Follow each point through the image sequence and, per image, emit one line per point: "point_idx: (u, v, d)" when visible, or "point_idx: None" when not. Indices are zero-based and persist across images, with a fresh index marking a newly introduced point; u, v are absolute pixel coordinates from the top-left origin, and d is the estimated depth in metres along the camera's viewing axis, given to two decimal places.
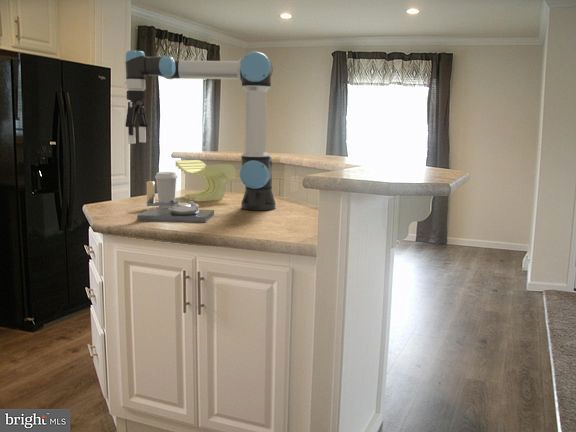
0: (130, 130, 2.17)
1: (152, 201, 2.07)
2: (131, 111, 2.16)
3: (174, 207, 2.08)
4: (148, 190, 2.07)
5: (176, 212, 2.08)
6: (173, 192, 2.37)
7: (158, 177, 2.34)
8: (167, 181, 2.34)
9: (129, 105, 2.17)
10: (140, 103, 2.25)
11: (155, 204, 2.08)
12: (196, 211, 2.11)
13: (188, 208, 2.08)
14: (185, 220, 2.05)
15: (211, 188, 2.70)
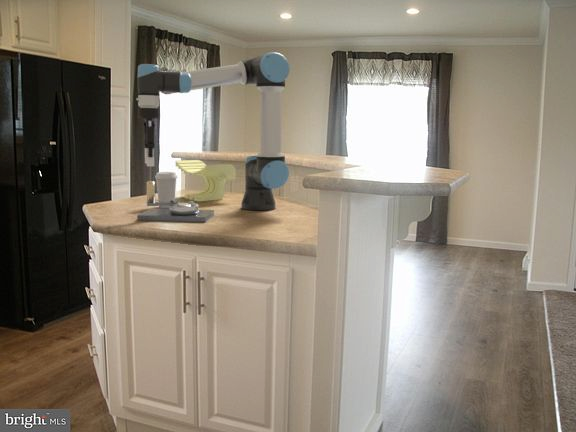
0: (150, 152, 1.98)
1: (152, 201, 2.07)
2: (150, 130, 1.97)
3: (174, 207, 2.08)
4: (148, 190, 2.07)
5: (176, 212, 2.08)
6: (173, 192, 2.37)
7: (158, 177, 2.34)
8: (167, 181, 2.34)
9: (148, 124, 1.97)
10: None
11: (155, 204, 2.08)
12: (196, 211, 2.11)
13: (188, 208, 2.08)
14: (185, 220, 2.05)
15: (211, 188, 2.70)
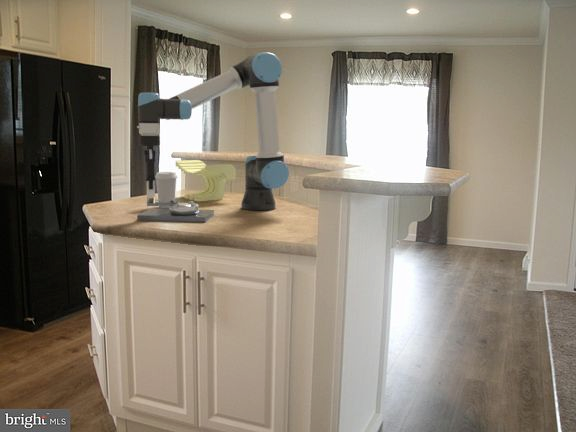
0: (151, 184, 2.04)
1: (152, 201, 2.07)
2: (151, 164, 2.01)
3: (174, 207, 2.08)
4: None
5: (176, 212, 2.08)
6: (173, 192, 2.37)
7: (158, 177, 2.34)
8: (167, 181, 2.34)
9: (149, 157, 2.00)
10: None
11: (155, 204, 2.08)
12: (196, 211, 2.11)
13: (188, 208, 2.08)
14: (185, 220, 2.05)
15: (211, 188, 2.70)
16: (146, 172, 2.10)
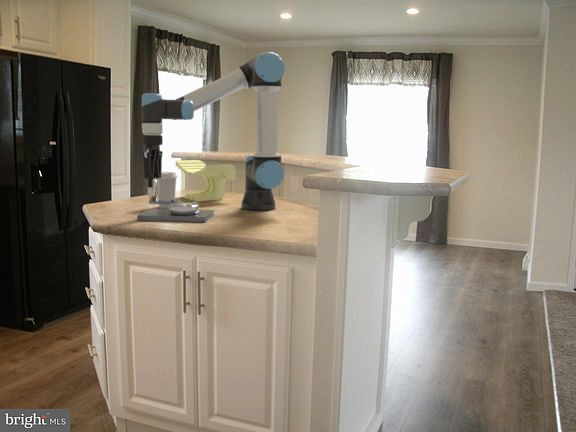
0: (149, 182, 2.10)
1: (153, 199, 2.13)
2: (147, 162, 2.06)
3: (170, 206, 2.10)
4: None
5: (171, 211, 2.09)
6: (173, 192, 2.37)
7: None
8: (167, 181, 2.34)
9: (144, 156, 2.06)
10: (157, 147, 2.13)
11: (156, 202, 2.13)
12: (191, 212, 2.09)
13: (182, 208, 2.07)
14: (185, 220, 2.05)
15: (211, 188, 2.70)
16: None
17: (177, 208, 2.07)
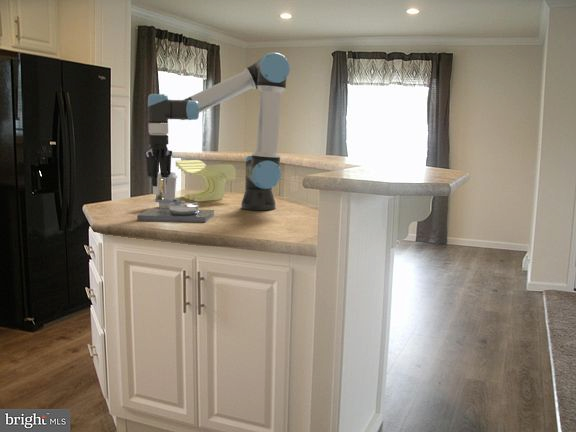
0: (153, 181, 2.14)
1: (158, 198, 2.17)
2: (149, 162, 2.11)
3: None
4: None
5: (170, 210, 2.11)
6: (173, 192, 2.37)
7: (158, 177, 2.34)
8: (167, 181, 2.34)
9: (146, 156, 2.11)
10: (164, 147, 2.16)
11: (160, 201, 2.17)
12: (187, 212, 2.08)
13: (177, 208, 2.08)
14: (185, 220, 2.05)
15: (211, 188, 2.70)
16: None
17: (173, 208, 2.08)
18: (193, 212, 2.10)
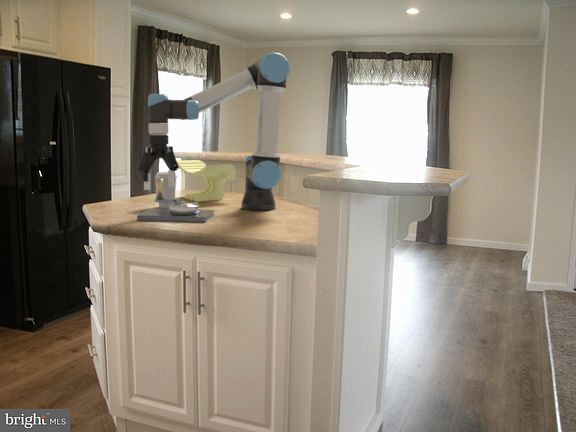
0: (144, 176, 2.10)
1: (158, 198, 2.17)
2: (145, 156, 2.09)
3: None
4: None
5: (170, 210, 2.11)
6: (173, 192, 2.37)
7: (158, 177, 2.34)
8: (167, 181, 2.34)
9: (145, 150, 2.10)
10: (164, 147, 2.16)
11: (160, 201, 2.17)
12: (187, 212, 2.08)
13: (177, 208, 2.08)
14: (185, 220, 2.05)
15: (211, 188, 2.70)
16: None
17: (173, 208, 2.08)
18: (193, 212, 2.10)
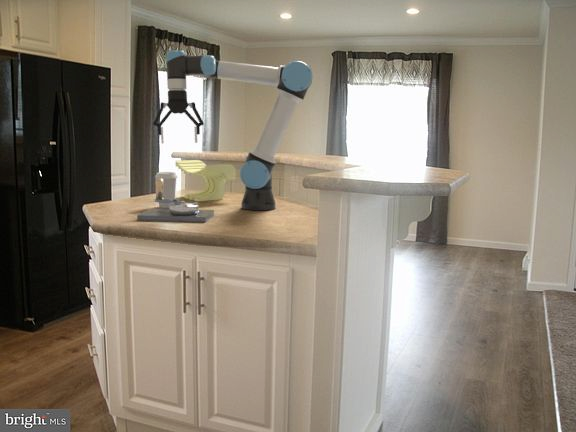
0: (158, 130, 2.22)
1: (158, 198, 2.17)
2: None
3: None
4: None
5: (170, 210, 2.11)
6: (173, 192, 2.37)
7: (158, 177, 2.34)
8: (167, 181, 2.34)
9: (160, 106, 2.22)
10: (182, 103, 2.22)
11: (160, 201, 2.17)
12: (187, 212, 2.08)
13: (177, 208, 2.08)
14: (185, 220, 2.05)
15: (211, 188, 2.70)
16: (199, 121, 2.27)
17: (173, 208, 2.08)
18: (193, 212, 2.10)
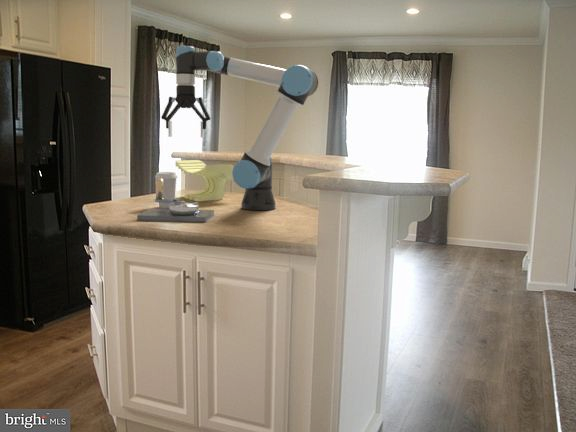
0: None
1: (158, 198, 2.17)
2: None
3: None
4: None
5: (170, 210, 2.11)
6: (173, 192, 2.37)
7: (158, 177, 2.34)
8: (167, 181, 2.34)
9: None
10: (189, 97, 2.26)
11: (160, 201, 2.17)
12: (187, 212, 2.08)
13: (177, 208, 2.08)
14: (185, 220, 2.05)
15: (211, 188, 2.70)
16: None
17: (173, 208, 2.08)
18: (193, 212, 2.10)
